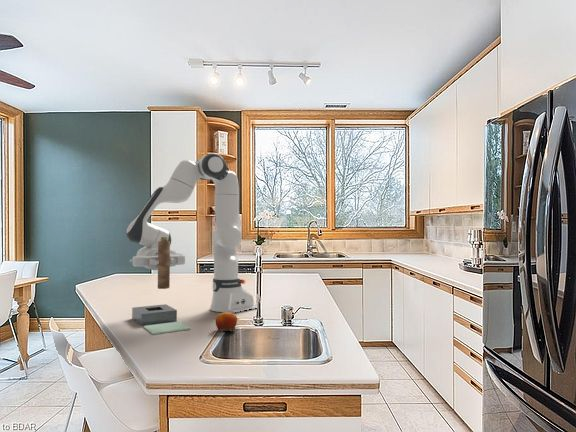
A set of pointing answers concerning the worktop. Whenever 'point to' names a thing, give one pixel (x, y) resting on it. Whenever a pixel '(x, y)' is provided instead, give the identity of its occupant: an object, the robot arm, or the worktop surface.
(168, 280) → the bottle
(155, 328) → the mat
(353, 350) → the worktop surface
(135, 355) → the worktop surface
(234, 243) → the robot arm
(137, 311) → the housing
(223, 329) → the fruit
